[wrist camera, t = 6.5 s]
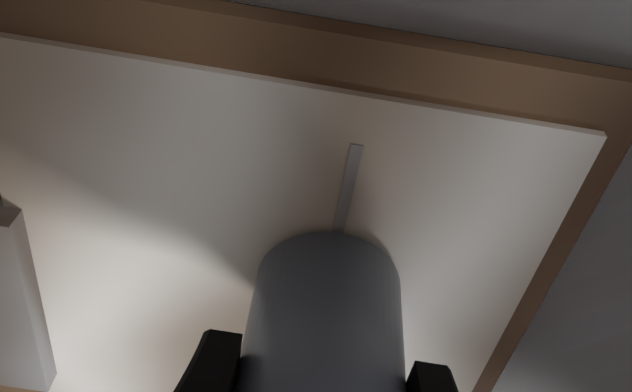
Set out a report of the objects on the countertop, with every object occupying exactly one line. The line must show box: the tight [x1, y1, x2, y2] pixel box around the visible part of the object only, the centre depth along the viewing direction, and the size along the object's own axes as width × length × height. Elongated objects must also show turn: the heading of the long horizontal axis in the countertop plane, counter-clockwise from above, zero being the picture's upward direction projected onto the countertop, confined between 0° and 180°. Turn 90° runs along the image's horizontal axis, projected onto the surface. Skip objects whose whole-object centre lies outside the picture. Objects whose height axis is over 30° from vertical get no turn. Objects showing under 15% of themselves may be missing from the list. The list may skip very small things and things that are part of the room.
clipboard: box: [0, 0, 632, 392], centre depth 15 cm, size 14×16×1 cm
